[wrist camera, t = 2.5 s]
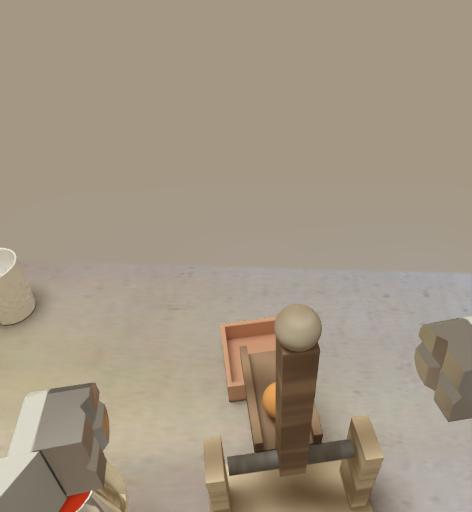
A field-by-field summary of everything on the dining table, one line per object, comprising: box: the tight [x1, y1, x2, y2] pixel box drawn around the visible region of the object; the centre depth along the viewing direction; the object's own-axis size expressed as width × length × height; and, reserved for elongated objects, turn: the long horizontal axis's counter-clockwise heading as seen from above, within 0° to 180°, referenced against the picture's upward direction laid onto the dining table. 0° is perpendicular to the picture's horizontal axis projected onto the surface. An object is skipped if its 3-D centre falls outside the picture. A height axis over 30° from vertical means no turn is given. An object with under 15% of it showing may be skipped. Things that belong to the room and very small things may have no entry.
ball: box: [262, 382, 276, 419], centre depth 43 cm, size 4×4×4 cm
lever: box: [227, 304, 355, 477], centre depth 38 cm, size 14×12×22 cm
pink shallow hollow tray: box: [220, 317, 276, 402], centre depth 60 cm, size 10×10×4 cm
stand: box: [203, 415, 384, 512], centre depth 44 cm, size 9×17×13 cm, turn 97°
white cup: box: [0, 248, 36, 325], centre depth 69 cm, size 8×8×10 cm
